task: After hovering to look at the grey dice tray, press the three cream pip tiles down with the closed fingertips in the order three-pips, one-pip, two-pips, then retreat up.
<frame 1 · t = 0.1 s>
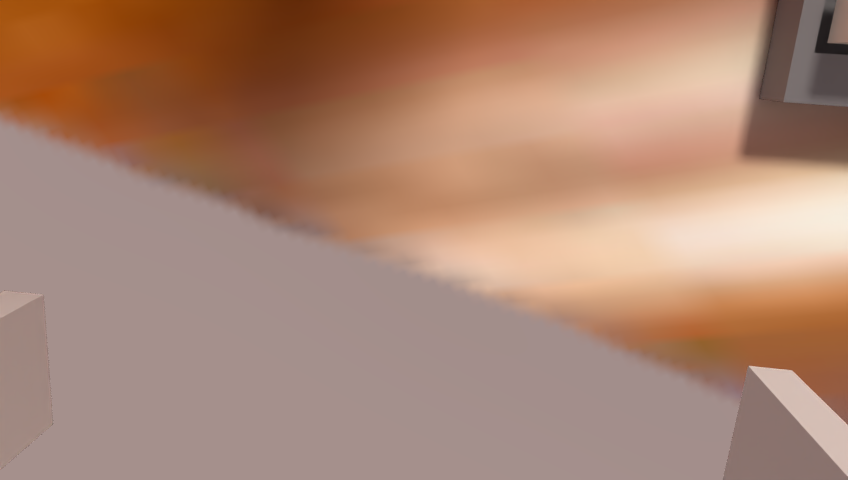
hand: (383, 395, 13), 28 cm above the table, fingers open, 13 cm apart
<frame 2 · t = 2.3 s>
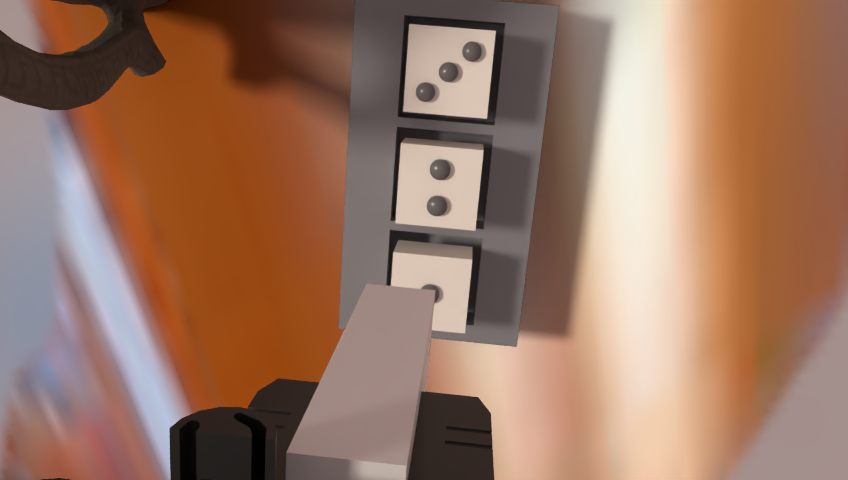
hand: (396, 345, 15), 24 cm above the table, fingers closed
tile 3: (449, 71, 33), point 4 cm above the table, slide at 0.0 cm
grey dice tray: (443, 169, 38), on the table
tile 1: (430, 286, 36), point 4 cm above the table, slide at 0.0 cm
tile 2: (439, 183, 34), point 4 cm above the table, slide at 0.0 cm
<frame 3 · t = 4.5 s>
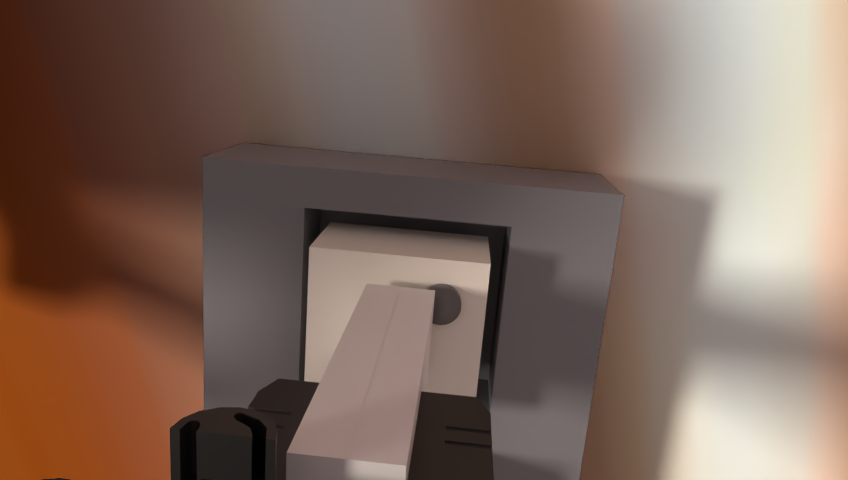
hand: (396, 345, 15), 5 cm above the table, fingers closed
tile 3: (398, 321, 16), point 3 cm above the table, slide at 0.9 cm, touching gripper
grey dice tray: (397, 444, 21), on the table
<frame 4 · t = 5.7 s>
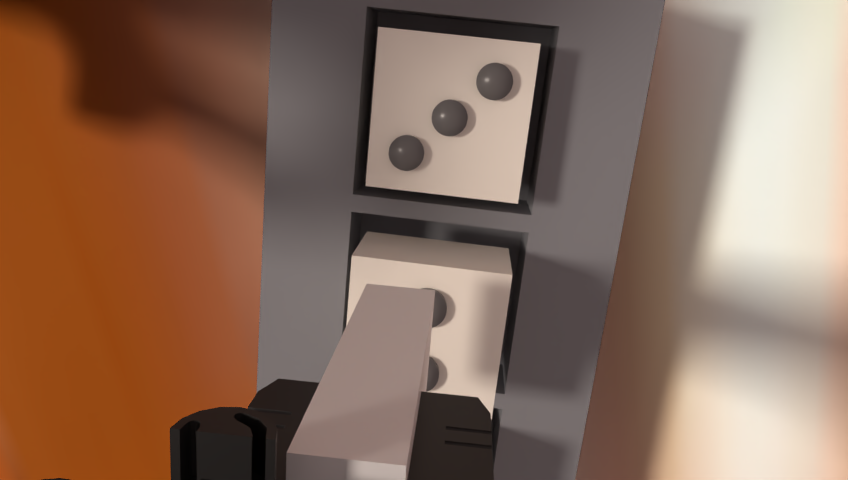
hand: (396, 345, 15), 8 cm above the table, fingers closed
tile 3: (451, 113, 18), point 3 cm above the table, slide at 1.4 cm
grey dice tray: (436, 273, 23), on the table
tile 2: (426, 323, 18), point 4 cm above the table, slide at 0.0 cm
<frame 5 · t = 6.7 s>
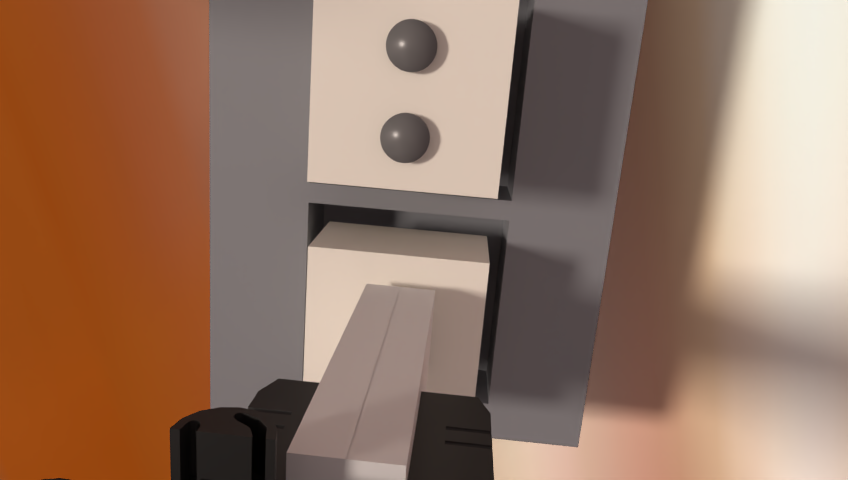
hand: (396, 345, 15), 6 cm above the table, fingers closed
grey dice tray: (425, 83, 19), on the table
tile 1: (397, 321, 16), point 4 cm above the table, slide at 0.3 cm, touching gripper
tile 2: (413, 90, 15), point 4 cm above the table, slide at 0.0 cm
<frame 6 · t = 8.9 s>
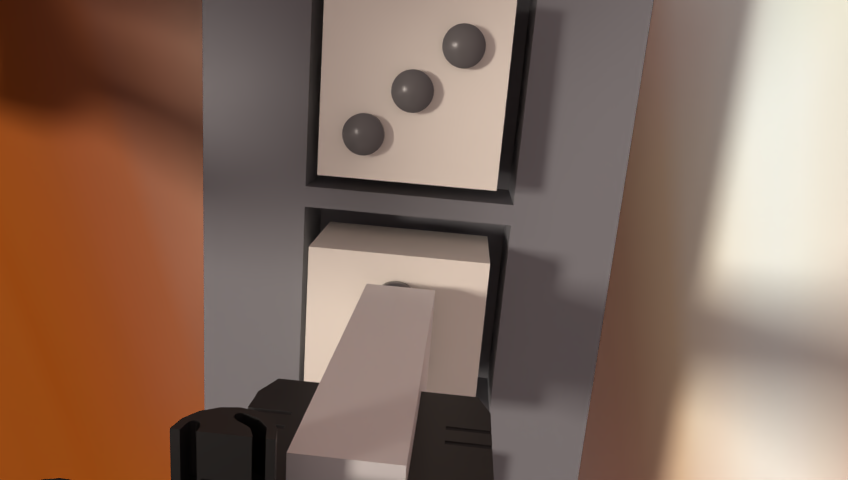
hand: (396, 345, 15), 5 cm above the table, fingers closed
tile 3: (416, 88, 16), point 3 cm above the table, slide at 1.4 cm
grey dice tray: (410, 276, 20), on the table
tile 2: (397, 321, 16), point 4 cm above the table, slide at 0.8 cm, touching gripper
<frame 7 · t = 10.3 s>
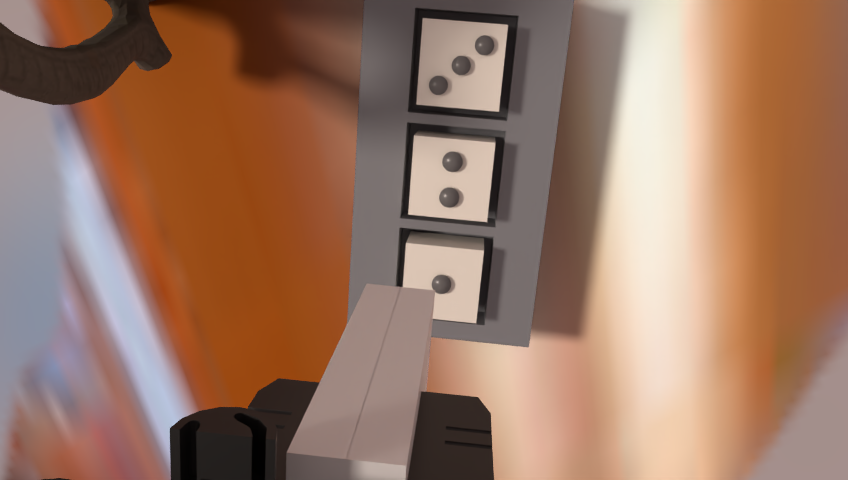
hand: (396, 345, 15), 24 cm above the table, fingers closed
tile 3: (461, 65, 33), point 3 cm above the table, slide at 1.4 cm
grey dice tray: (454, 166, 38), on the table
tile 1: (442, 276, 36), point 3 cm above the table, slide at 1.4 cm
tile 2: (451, 175, 35), point 3 cm above the table, slide at 1.4 cm
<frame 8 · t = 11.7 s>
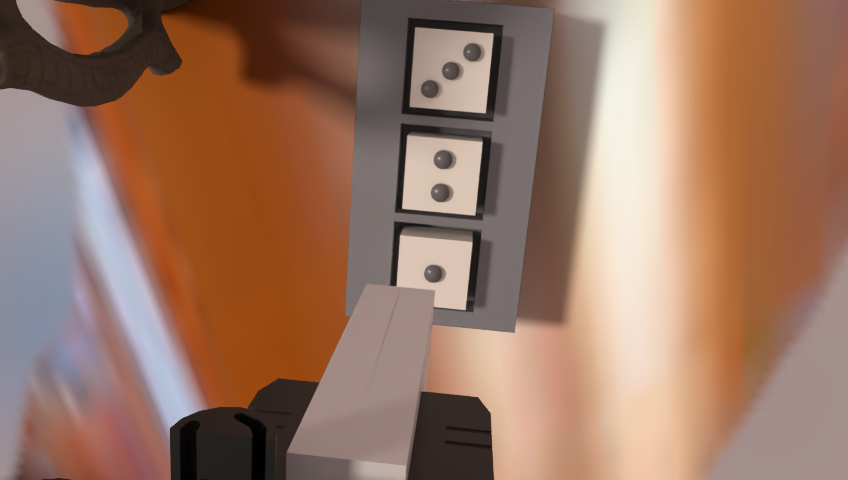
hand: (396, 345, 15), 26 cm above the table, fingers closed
tile 3: (451, 70, 36), point 3 cm above the table, slide at 1.4 cm
grey dice tray: (444, 164, 40), on the table
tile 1: (434, 267, 39), point 3 cm above the table, slide at 1.4 cm
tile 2: (442, 172, 37), point 3 cm above the table, slide at 1.4 cm
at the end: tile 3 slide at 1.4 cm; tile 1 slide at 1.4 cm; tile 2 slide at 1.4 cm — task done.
